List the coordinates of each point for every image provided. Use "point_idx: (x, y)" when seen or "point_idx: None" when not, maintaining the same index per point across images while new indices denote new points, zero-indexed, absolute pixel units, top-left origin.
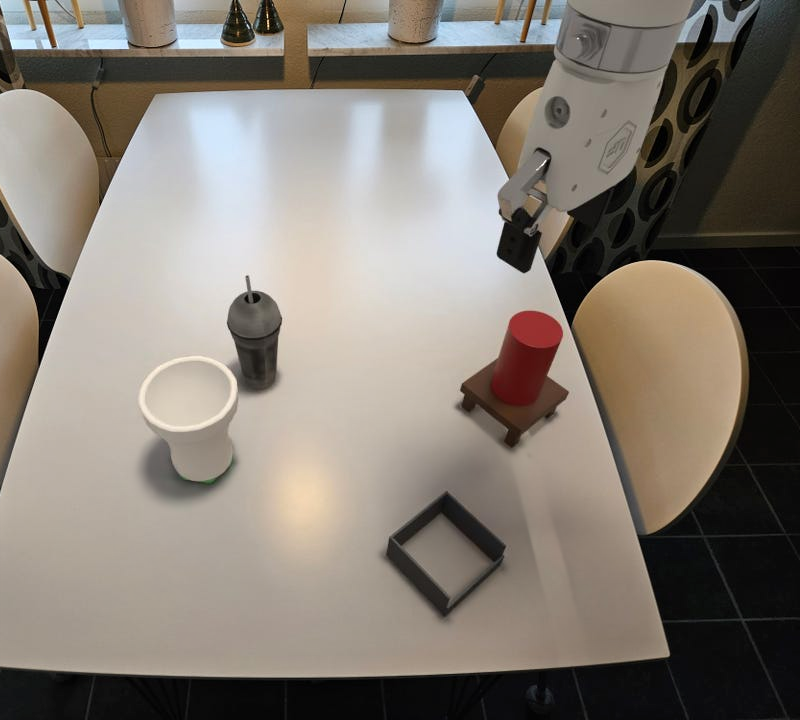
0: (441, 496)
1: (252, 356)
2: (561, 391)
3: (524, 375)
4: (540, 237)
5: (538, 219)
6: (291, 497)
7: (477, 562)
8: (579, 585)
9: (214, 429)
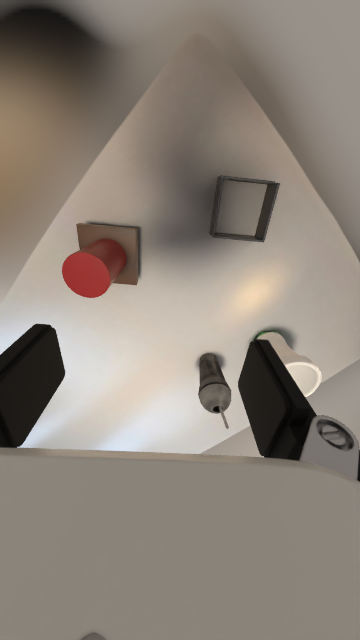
0: (218, 237)
1: (222, 375)
2: (81, 228)
3: (114, 255)
4: (292, 397)
5: (347, 464)
6: (257, 299)
7: (225, 190)
8: (193, 118)
9: (300, 358)
